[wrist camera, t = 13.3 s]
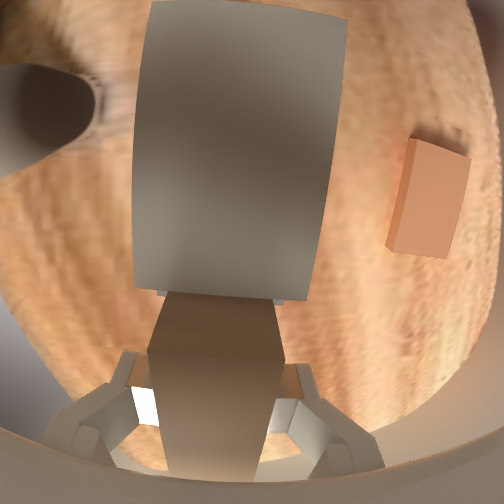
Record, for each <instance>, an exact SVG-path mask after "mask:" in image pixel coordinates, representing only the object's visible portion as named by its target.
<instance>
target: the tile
mask: <svg viewBox="0 0 504 504" xmlns="http://www.w3.org/2000/svg"><path fill="white" fill-rule="evenodd" d="M470 164H471V159H470V158H468V157H465V156H463V155H460V154H458V153H455V152H452V151H450V150H447V149H444V148H442V147H439V146H436V145H433V144H431V143H428V142H425V141H422V140H419V139H413V138H409V139H408V145H407V151H406V156H405V162H404V167H403V172H402V177H401V182H400V187H399V191H398V196H397V200H396V205H395V209H394V213H393V217H392V221H391V225H390V229H389V233H388V237H387V240H386V244H385V246H386V247H387V248H388V249H389V250H390V251H391V252H395V253H403V254H411V255H418V256H426V257H434V258H441V259H446V258H447V255H448V252H449V249H450V245H451V242H452V239H453V236H454V232H455V229H456V225H457V221H458V218H459V214H460V210H461V206H462V202H463V198H464V194H465V189H466V185H467V180H468V175H469V170H470Z"/></svg>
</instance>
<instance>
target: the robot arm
mask: <svg viewBox="0 0 504 504" xmlns="http://www.w3.org/2000/svg"><path fill="white" fill-rule="evenodd" d="M139 423H144V424H151V425H159V423H158V418H157V413H156V407H155V401H154V395H153V389H152V382H151V376H150V369H149V361H148V353H142V352H134V351H128V350H125V351H124V352H123V353H122V355H121V357H120V360H119V362H118V364H117V367H116V369H115V372H114V374H113V376H112V379H111V381H110V383H104V384H103V385H101V386H100V387H98V388H96V389H95V390H93V391H92V392H90V393H89V394H87V395H85V396H84V397H82V398H81V399H79V400H77V401H76V402H74V403H73V404H71V405H69V406H68V407H66V408H64V409H63V410H61V411H60V412H58V413H56V414H55V415H54V416H53V418H52V420H51V422H50V424H49V426H48V429H47V431H46V433H45V435H44V437H43V440H42V442H41V444H38V443H35V442H33V441H31V440H28V439H26V438H23V437H21V436H19V435H16V434H14V433H12V432H10V431H7V430H5V429H3V428H1V427H0V504H504V426H503V427H501V428H499V429H497V430H495V431H493V432H490V433H488V434H486V435H484V436H481V437H479V438H477V439H474V440H472V441H469V442H467V443H464V444H461V445H459V446H456V447H453V448H451V449H448V450H445V451H442V452H439V453H436V454H433V455H430V456H426V457H423V458H420V459H416V460H413V461H409V462H405V463H402V464H398V465H394V466H389V467H385V464H384V461H383V459H382V456H381V454H380V451H379V448H378V445H377V443H376V440H375V437H373V436H372V435H371V434H369V433H368V432H367V431H365V430H364V429H363V428H361V427H360V426H359V425H357V424H356V423H355V422H354V421H352V420H351V419H350V418H349V417H347V416H346V415H345V414H343V413H342V412H341V411H340V410H338V409H337V408H336V407H335V406H333V405H332V404H331V403H330V402H328V401H327V400H326V399H325V398H320V396H319V392H318V389H317V386H316V382H315V379H314V376H313V372H312V369H311V366H310V364H309V363H303V364H284V368H283V372H282V376H281V380H280V384H279V388H278V392H277V396H276V400H275V404H274V408H273V412H272V416H271V419H270V423H269V427H268V431H267V433H287V435H288V436H289V437H290V438H291V440H292V441H293V442H294V443H295V444H296V445H297V447H298V448H299V449H300V450H301V451H302V452H303V453H304V454H305V456H306V457H307V458H308V459H309V460H310V461H311V462H312V463H313V465H314V466H315V467H314V469H313V471H312V472H311V474H310V476H309V477H308V479H307V480H299V481H283V482H219V481H204V480H192V479H182V478H174V477H166V476H159V475H153V474H147V473H141V472H136V471H131V470H126V469H121V468H117V467H116V465H115V463H114V462H113V460H112V458H111V456H110V452H111V451H112V450H113V449H114V448H115V447H116V446H117V445H118V444H119V443H120V442H121V441H123V440H124V439H125V438H126V437H127V436H128V435H129V434H130V433H131V432H132V431H133V430H134V429H135V428H136V427H137V426H138V425H139Z"/></svg>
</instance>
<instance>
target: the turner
mask: <svg viewBox="0 0 504 504" xmlns="http://www.w3.org/2000/svg"><path fill="white" fill-rule="evenodd" d="M346 30H347V20H344V19H341V18H337V17H333V16H329V15H324V14H320V13H315V12H310V11H305V10H300V9H294V8H289V7H282V6H275V5H268V4H260V3H250V2H238V1H222V0H168V1H152V4H151V8H150V13H149V18H148V24H147V29H146V35H145V41H144V47H143V53H142V60H141V67H140V75H139V83H138V92H137V102H136V113H135V125H134V140H133V161H132V245H133V266H134V282H135V288H142V289H152V290H162V291H168V292H167V295H166V298H165V300H164V303H163V306H162V309H161V311H160V314H159V317H158V320H157V323H156V325H155V328H154V331H153V334H152V337H151V340H150V343H149V346H148V349H147V353H148V361H149V369H150V376H151V382H152V389H153V395H154V401H155V407H156V413H157V418H158V423H159V428H160V433H161V438H162V443H163V448H164V452H165V456H166V461H167V465H168V469H169V473H170V477H174V478H182V479H192V480H204V481H219V482H253V479H254V476H255V473H256V469H257V465H258V462H259V459H260V456H261V452H262V449H263V445H264V441H265V438H266V434H267V431H268V427H269V423H270V419H271V416H272V412H273V408H274V404H275V400H276V396H277V392H278V388H279V384H280V380H281V376H282V372H283V368H284V364H285V356H284V351H283V346H282V341H281V337H280V332H279V327H278V322H277V317H276V313H275V308H274V303H273V299H278V300H297V301H306V300H307V296H308V291H309V286H310V282H311V277H312V272H313V267H314V262H315V257H316V252H317V247H318V242H319V236H320V231H321V225H322V220H323V214H324V208H325V203H326V197H327V191H328V184H329V178H330V172H331V165H332V158H333V151H334V144H335V137H336V129H337V121H338V113H339V105H340V96H341V87H342V77H343V67H344V56H345V44H346Z"/></svg>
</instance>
